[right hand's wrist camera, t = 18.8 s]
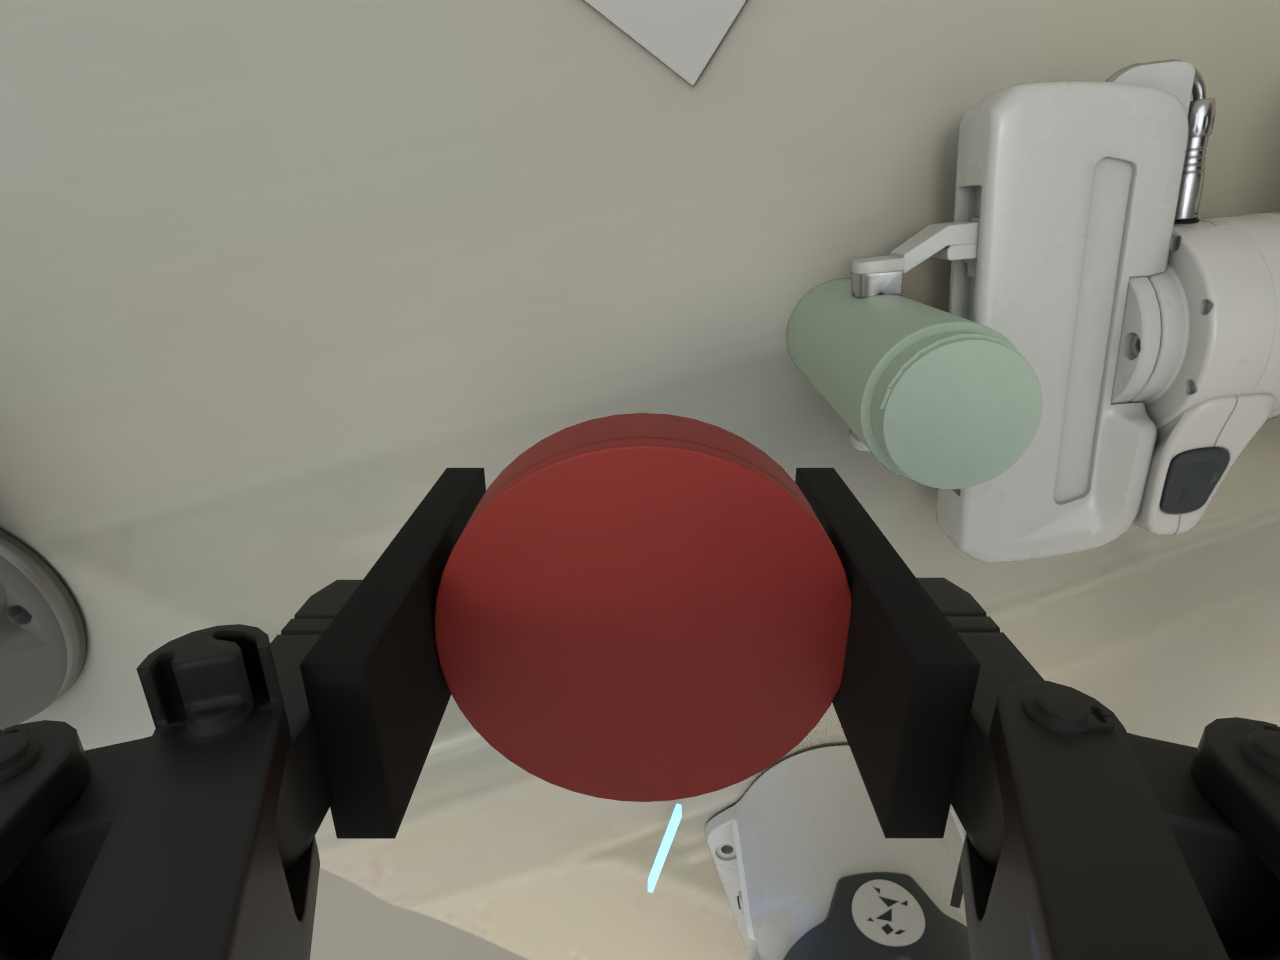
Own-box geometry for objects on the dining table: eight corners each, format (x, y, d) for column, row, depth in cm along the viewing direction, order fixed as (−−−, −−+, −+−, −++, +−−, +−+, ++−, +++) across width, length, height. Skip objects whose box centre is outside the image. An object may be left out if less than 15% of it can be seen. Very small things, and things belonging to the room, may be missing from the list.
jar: (908, 292, 36) (1085, 352, 21) (870, 394, 38) (1008, 515, 23) (805, 267, 35) (911, 309, 20) (773, 371, 37) (848, 478, 23)
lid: (386, 590, 12) (348, 647, 11) (640, 326, 10) (640, 347, 9) (645, 785, 14) (646, 860, 12) (902, 585, 12) (940, 641, 11)
